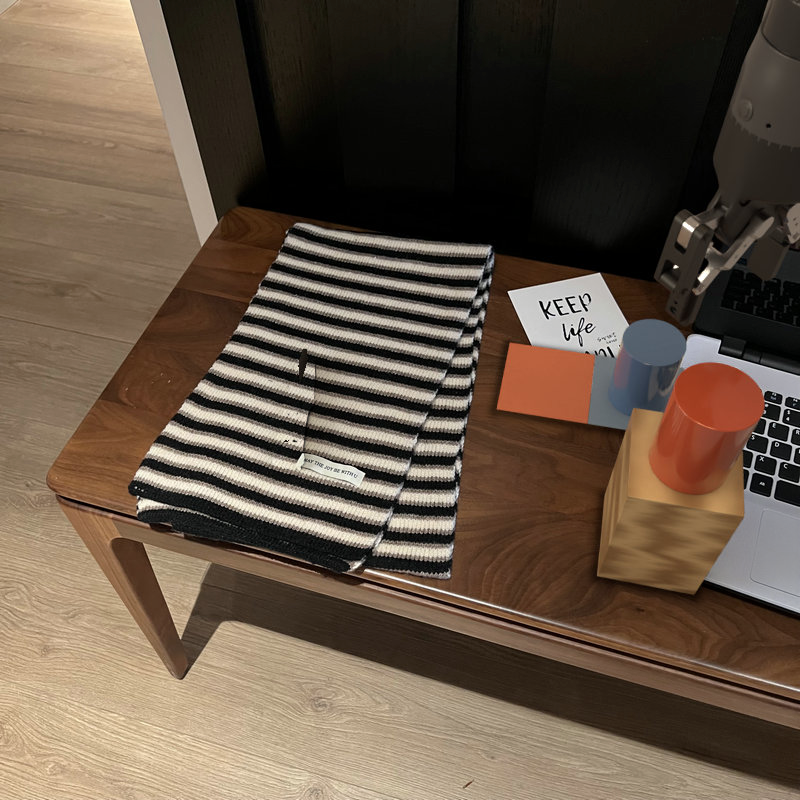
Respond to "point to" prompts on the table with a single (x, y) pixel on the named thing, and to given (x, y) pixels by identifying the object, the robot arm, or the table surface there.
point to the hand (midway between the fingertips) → (720, 295)
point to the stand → (663, 518)
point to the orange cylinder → (705, 427)
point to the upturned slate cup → (646, 366)
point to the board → (560, 386)
